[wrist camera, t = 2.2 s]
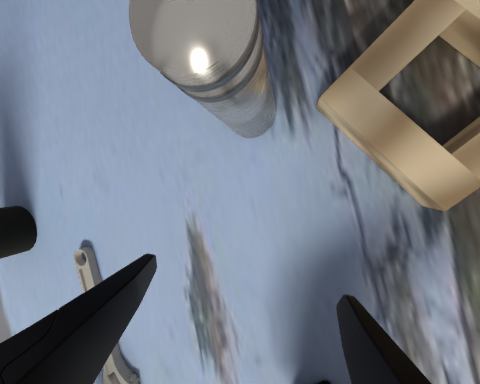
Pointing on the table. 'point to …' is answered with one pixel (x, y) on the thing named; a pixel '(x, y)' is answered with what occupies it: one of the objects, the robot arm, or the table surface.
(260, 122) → the piston
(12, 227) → the wine bottle
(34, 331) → the robot arm
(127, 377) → the adjustable wrench
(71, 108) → the table surface
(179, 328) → the table surface
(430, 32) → the bore block
